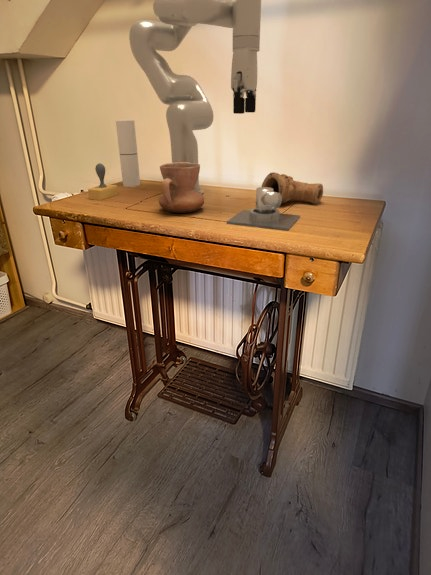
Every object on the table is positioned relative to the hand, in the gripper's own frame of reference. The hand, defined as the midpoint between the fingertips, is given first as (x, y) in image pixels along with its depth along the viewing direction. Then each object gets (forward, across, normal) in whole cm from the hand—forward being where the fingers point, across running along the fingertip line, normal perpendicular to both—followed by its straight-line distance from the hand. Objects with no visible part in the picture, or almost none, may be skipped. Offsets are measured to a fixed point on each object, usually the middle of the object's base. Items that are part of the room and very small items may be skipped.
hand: (244, 112), depth 115 cm
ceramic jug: (+29, +11, -17) cm, 35 cm away
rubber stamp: (+29, +4, -53) cm, 60 cm away
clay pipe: (+29, -11, +13) cm, 33 cm away
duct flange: (+28, +12, +11) cm, 33 cm away
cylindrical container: (+28, -18, -56) cm, 65 cm away
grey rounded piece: (+28, +12, +12) cm, 33 cm away
